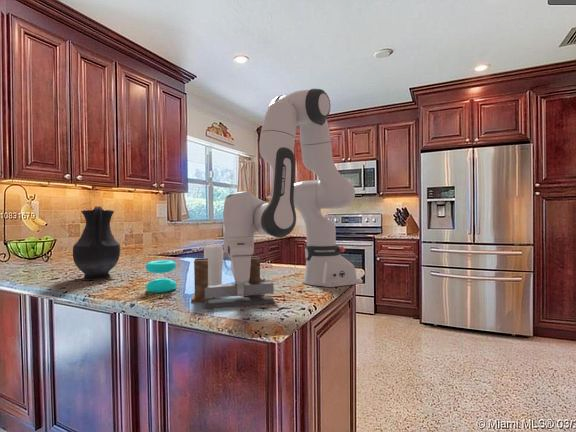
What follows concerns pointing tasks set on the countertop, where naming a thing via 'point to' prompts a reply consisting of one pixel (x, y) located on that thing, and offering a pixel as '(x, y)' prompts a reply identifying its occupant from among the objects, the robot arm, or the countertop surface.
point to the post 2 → (254, 273)
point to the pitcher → (96, 245)
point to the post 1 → (200, 280)
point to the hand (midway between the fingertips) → (239, 292)
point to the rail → (231, 289)
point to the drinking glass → (214, 263)
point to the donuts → (161, 284)
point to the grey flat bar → (238, 302)
